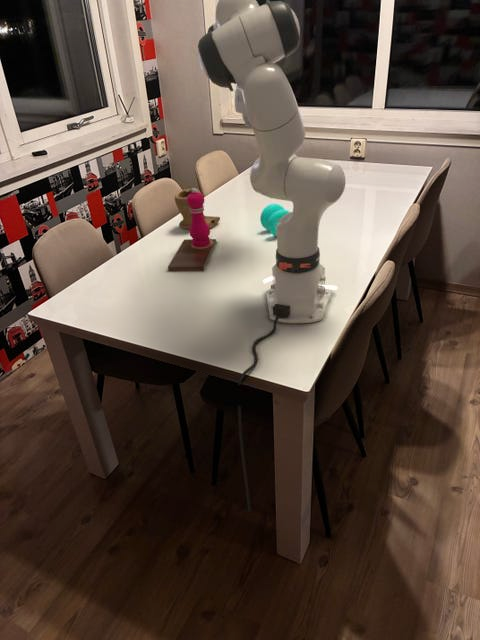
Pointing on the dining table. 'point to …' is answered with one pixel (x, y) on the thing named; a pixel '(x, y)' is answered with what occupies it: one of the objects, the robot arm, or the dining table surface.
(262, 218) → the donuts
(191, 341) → the dining table surface
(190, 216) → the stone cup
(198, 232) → the pepper mill
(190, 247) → the serving board
